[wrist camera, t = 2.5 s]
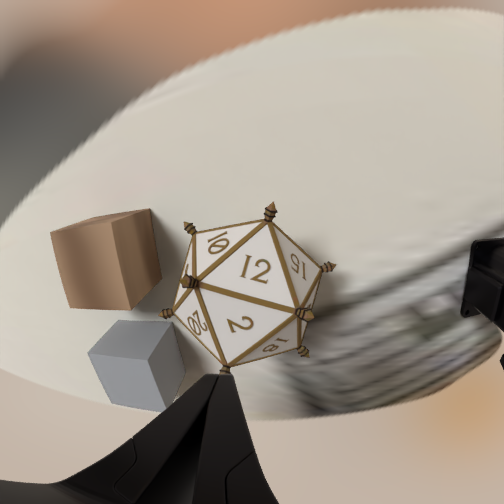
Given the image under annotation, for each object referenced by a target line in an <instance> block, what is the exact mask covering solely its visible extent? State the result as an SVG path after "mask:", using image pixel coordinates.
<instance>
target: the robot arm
mask: <svg viewBox="0 0 504 504" xmlns="http://www.w3.org/2000/svg"><path fill="white" fill-rule="evenodd" d="M477 245H478V247H477ZM476 247H477V249H476ZM478 314H482V315H484V316H485V317H486V318H487V319H488V320H489V321H490V322H493V323H494V324H496V325H497V326H498V327H499V328H500V329H501V330H502V331H503V332H504V238H494V239H482V240H475V241H474V242H473V243H472V247H471V255H470V263H469V270H468V277H467V283H466V288H465V294H464V299H463V304H462V308H461V315H462V316H463V317H465V318H466V317H470V316H474V315H478ZM500 363H501V365H502V367H503V370H504V354H503V355H502V357H501V359H500ZM0 504H279V503H278V501H277V499H276V498H275V496H274V494H273V493H272V491H271V489H270V487H269V485H268V483H267V481H266V479H265V477H264V474H263V472H262V469H261V466H260V464H259V461H258V458H257V454H256V452H255V449H254V446H253V442H252V439H251V436H250V432H249V429H248V426H247V422H246V419H245V416H244V412H243V409H242V405H241V402H240V398H239V395H238V391H237V387H236V384H235V380H234V377H233V375H232V374H221V375H218V374H205V375H204V376H203V377H202V378H201V379H200V380H198V381H197V382H196V383H195V384H194V385H193V386H192V387H191V388H189V389H188V390H187V391H186V392H185V393H184V394H183V395H182V396H180V397H179V398H178V399H177V400H176V401H175V402H173V403H172V404H171V405H170V406H169V407H168V408H166V409H165V410H164V411H163V412H162V413H161V414H159V415H158V416H157V417H156V418H155V419H153V420H152V421H151V422H150V423H149V424H147V425H146V426H145V427H144V428H143V429H141V430H140V431H139V432H138V433H136V434H135V435H134V436H133V439H132V438H130V439H129V440H128V441H126V442H125V443H124V444H122V445H121V446H120V447H118V448H117V449H116V450H114V451H113V452H112V453H110V454H109V455H107V456H105V457H104V458H102V459H101V460H99V461H98V462H96V463H94V464H92V465H91V466H89V467H87V468H85V469H83V470H82V471H80V472H78V473H77V474H74V475H72V476H71V477H69V478H67V479H65V480H62V481H59V482H56V483H50V484H37V483H23V482H13V481H6V480H0Z"/></svg>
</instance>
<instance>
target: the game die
mask: <svg viewBox="0 0 504 504" xmlns="http://www.w3.org/2000/svg"><path fill="white" fill-rule="evenodd" d="M276 213H277V210H276V208H275V204H274V201H273V202H272V203H271V204H270V205H269V206H268V207H266V208H265V213H264V215H265V219H261V220H256V221H250V222H245V223H240V224H234V225H229V226H224V227H219V228H214V229H209V230H204V231H199V232H197V231H196V229H195V226H193V225H192V224H193V223H188V222H184V227H185V229H184V230H186V231H187V233H188V234H191V235H192V239H191V242H190V245H189V249H188V252H187V256H186V259H185V263H184V266H183V270H182V274H181V277H180V280H179V285H178V288H177V292H176V296H175V300H174V304H173V308H172V309H169V308H168V309H166V310H165V309H163V310H162V312H161V313H160V314H159V315H158V316H160V317H163V318H165V319H167V318H171V316H173V315H175V316H176V317H177V318H178V319H179V321H180V322H181V323H182V324H183V325H184V326H185V327H186V328H187V329H188V330H189V331H190V332H191V333H192V334H193V335H194V337H195V338H196V339H197V340H198V341H199V342H200V343H201V344H202V345H203V346H204V347H205V348H206V349H207V350H208V351H209V352H210V353H211V354H212V355H213V356H214V357H215V358H216V359H217V360H218V361H219V362H220V363H221V364H222V365H223V367H222V369H221V370H219V371H220V374H218V375H221V374H231V373H230V368H231V367H234V366H238V365H241V364H245V363H249V362H253V361H257V360H260V359H264V358H267V357H271V356H274V355H278V354H281V353H284V352H288V351H291V350H294V349H297V350H298V354H300V355H301V357H302V356H303V357H309V350H308V349H306V347H305V346H302V345H301V344H302V341H303V338H304V334H305V331H306V328H307V325H308V321H309V320H311V319H313V318H314V316H313V314H312V308H313V304H314V301H315V297H316V294H317V290H318V287H319V283H320V279H321V275H322V273H323V272H328V271H332V270H333V269H334V267H335V266H336V264H333V263H330V262H328V263H326V264H325V263H324V265H322V266H319V265H318V264H317V263H316V262H315V261H314V260H313V259H312V258H311V257H310V256H309V255H308V254H307V253H306V252H304V251H303V250H302V249H301V248H300V247H299V246H298V245H297V244H296V243H295V242H294V241H293V240H292V239H291V238H290V237H288V236H287V235H286V234H285V233H284V232H283V231H282V230H281V229H280V228H279V227H278V226H277V225H275V224H274V223H273V222H272V220H273V218H274V217H276V216H275V214H276ZM309 358H310V357H309Z"/></svg>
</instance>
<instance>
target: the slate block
mask: <svg viewBox="0 0 504 504" xmlns="http://www.w3.org/2000/svg"><path fill="white" fill-rule="evenodd" d="M88 356H89V358H90V360H91V362H92V365H93V367H94V369H95V371H96V373H97V375H98V377H99V380H100V382H101V384H102V386H103V388H104V390H105V392H106V393H107V395H108V397H109V399H110V401H111V403H112V404H117V405H122V406H127V407H132V408H137V409H143V410H150V411H156V412H163V411H164V410H165V409H166V408H168V407H169V406H170V405H171V404H172V403H173V401H174V399H175V396H176V394H177V392H178V389H179V387H180V385H181V382H182V380H183V378H184V375H185V373H186V371H185V367H184V364H183V360H182V357H181V353H180V350H179V346H178V342H177V339H176V335H175V331H174V327H173V323H172V322H164V321H127V320H118V321H117V322H116V323H115V324H114V325H113V326H112V327H111V328H110V329H109V330H108V331H107V332H106V333H105V334H104V335H103V337H102V338H101V339H100V340H99V341H98V342H97V343H96V344H95V345H94V346H93V347H92V348H91V349H90V351H89V352H88Z"/></svg>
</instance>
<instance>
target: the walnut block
mask: <svg viewBox="0 0 504 504" xmlns="http://www.w3.org/2000/svg"><path fill="white" fill-rule="evenodd" d="M50 234H51V239H52V244H53V249H54V253H55V257H56V261H57V265H58V269H59V273H60V277H61V280H62V284H63V287H64V290H65V294H66V297H67V300H68V303H69V306H70V308H78V309H100V310H132V309H133V308H134V307H135V306H136V305H137V304H138V303H139V302H140V301H141V300H142V299H143V298H144V297H145V296H146V295H147V293H148V292H149V291H150V290H151V289H152V288H153V287H154V286H155V285H156V284H157V283H158V282H159V281H160V280H161V279H162V275H161V270H160V265H159V260H158V255H157V249H156V244H155V238H154V232H153V226H152V220H151V213H150V208H149V209H142V210H136V211H129V212H123V213H117V214H110V215H105V216H99V217H93V218H90V219H87V220H84V221H81V222H78V223H75V224H72V225H69V226H67V227H64V228H61V229H58V230H56V231H53V232H50Z"/></svg>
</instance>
